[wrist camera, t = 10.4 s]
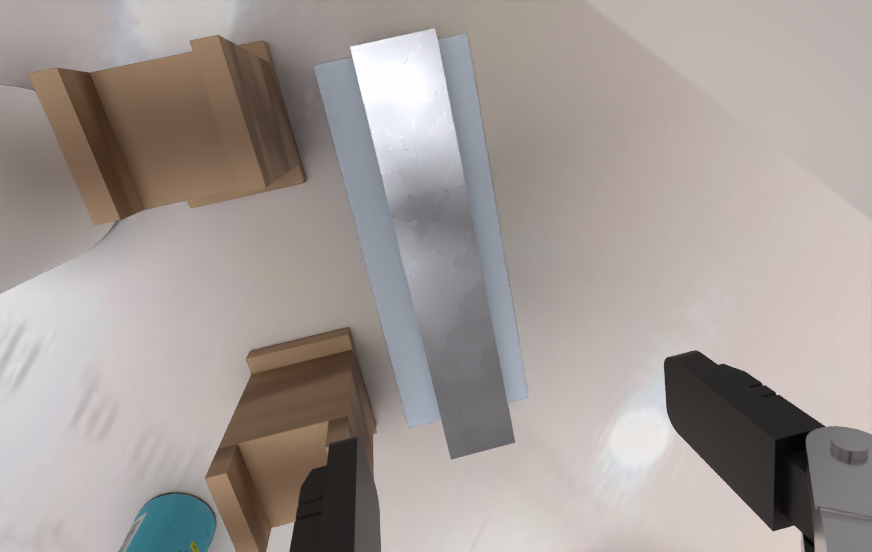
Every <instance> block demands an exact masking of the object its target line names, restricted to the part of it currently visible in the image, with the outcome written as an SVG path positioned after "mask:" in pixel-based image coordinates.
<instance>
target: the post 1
mask: <svg viewBox="0 0 872 552" xmlns="http://www.w3.org/2000/svg"><path fill="white" fill-rule="evenodd" d="M190 43H191V46H192V49H193V52H188V53H183V54H179V55H174V56H169V57H164V58H159V59H154V60H149V61H145V62H140V63H135V64H130V65H125V66H120V67H115V68H110V69H106V70H101V71H96V72H91V73H88V72H81V71H75V70H68V69H62V68H53V69H48V70H43V71H39V72H34V73H29V74H28V75H29V78H30V80H31V82H32V84H33V87H34V89H35V91H36V94H37V96H38V98H39V100H40V103H41V105H42V107H43V110H44V112H45V114H46V116H47V119H48V121H49V123H50V126H51V128H52V130H53V132H54V135H55V137H56V139H57V142H58V144H59V146H60V148H61V151H62V153H63V155H64V158H65V160H66V162H67V165H68V167H69V169H70V171H71V174H72V176H73V178H74V181H75V183H76V185H77V187H78V190H79V192H80V194H81V197H82V199H83V201H84V203H85V206H86V208H87V210H88V213H89V215H90V217H91V219H92V222H93V224H94V226H95V225H100V224H104V223H109V222H113V221H118V220H121V219H124V218H126V217H128V216H131V215H133V214H136V213H138V212H140V211H143V210H145V209H150V208H154V207H159V206H163V205H168V204H172V203H177V202H181V201H186V200H188V203H189V206H190V208H194V207H199V206H203V205H208V204H212V203H217V202H221V201H226V200H230V199H235V198H239V197H244V196H248V195H253V194H257V193H262V192H266V191H270V190H275V189H279V188H284V187H288V186H293V185H297V184H302V183H305V181H306V178H305V175H304V171H303V168H302V164H301V161H300V157H299V154H298V150H297V147H296V143H295V140H294V136H293V133H292V129H291V126H290V122H289V119H288V115H287V112H286V109H285V105H284V102H283V98H282V95H281V91H280V88H279V84H278V81H277V77H276V74H275V70H274V67H273V63H272V60H271V56H270V53H269V49H268V46H267V43H266V42H264V41H258V42H253V43H248V44H243V45H236V44H234V43H232V42H230V41H228V40H226V39H224V38H223V37H221V36H219V35H215V36H210V37H205V38H200V39H195V40H190Z"/></svg>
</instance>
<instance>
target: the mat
mask: <svg viewBox="0 0 872 552" xmlns="http://www.w3.org/2000/svg"><path fill="white" fill-rule="evenodd" d="M438 43H439V49H440V54H441V59H442V64H443V69H444V75H445V80H446V85H447V90H448V95H449V101H450V106H451V111H452V116H453V122H454V127H455V132H456V137H457V142H458V148H459V153H460V158H461V163H462V168H463V174H464V179H465V184H466V189H467V194H468V200H469V205H470V210H471V215H472V220H473V226H474V231H475V236H476V241H477V246H478V252H479V257H480V262H481V267H482V272H483V278H484V283H485V288H486V293H487V298H488V304H489V309H490V314H491V319H492V324H493V330H494V335H495V340H496V345H497V350H498V356H499V361H500V366H501V371H502V376H503V382H504V387H505V392H506V397H507V402H508V403H509V402H513V401H517V400H521V399H525V398H528V393H527V387H526V381H525V375H524V369H523V363H522V357H521V351H520V346H519V340H518V334H517V328H516V322H515V316H514V310H513V304H512V298H511V292H510V286H509V280H508V274H507V268H506V262H505V256H504V250H503V244H502V238H501V232H500V226H499V220H498V214H497V208H496V202H495V197H494V191H493V185H492V179H491V173H490V167H489V161H488V155H487V149H486V143H485V137H484V131H483V125H482V119H481V113H480V107H479V101H478V95H477V89H476V83H475V77H474V71H473V65H472V59H471V53H470V47H469V42H468V36H467V33H465V34H461V35H456V36H451V37H446V38H442V39H438ZM313 67H314V71H315V75H316V78H317V82H318V86H319V90H320V94H321V97H322V101H323V105H324V109H325V113H326V116H327V120H328V124H329V128H330V132H331V135H332V139H333V143H334V147H335V151H336V154H337V158H338V162H339V166H340V170H341V173H342V177H343V181H344V185H345V189H346V192H347V196H348V200H349V204H350V207H351V211H352V215H353V219H354V223H355V226H356V230H357V234H358V238H359V242H360V245H361V249H362V253H363V257H364V261H365V264H366V268H367V272H368V276H369V280H370V283H371V287H372V291H373V295H374V299H375V302H376V306H377V310H378V314H379V318H380V321H381V325H382V329H383V333H384V337H385V340H386V344H387V348H388V352H389V356H390V359H391V363H392V367H393V371H394V374H395V378H396V382H397V386H398V390H399V393H400V397H401V401H402V405H403V409H404V412H405V416H406V420H407V424H408V428H411V427H415V426H419V425H423V424H427V423H431V422H435V421H439V420H441V416H440V412H439V408H438V404H437V400H436V396H435V392H434V388H433V384H432V379H431V375H430V371H429V367H428V363H427V359H426V355H425V351H424V347H423V343H422V339H421V335H420V331H419V326H418V322H417V318H416V314H415V310H414V306H413V302H412V298H411V294H410V290H409V286H408V282H407V278H406V273H405V269H404V265H403V261H402V257H401V253H400V249H399V245H398V241H397V237H396V233H395V229H394V225H393V220H392V216H391V212H390V208H389V204H388V200H387V196H386V192H385V188H384V184H383V180H382V176H381V172H380V167H379V163H378V159H377V155H376V151H375V147H374V143H373V139H372V135H371V131H370V127H369V123H368V119H367V114H366V110H365V106H364V102H363V98H362V94H361V90H360V86H359V82H358V78H357V74H356V70H355V66H354V61H353V57H351V58H346V59H342V60H337V61H332V62H327V63H323V64H318V65H313Z"/></svg>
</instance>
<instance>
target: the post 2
mask: <svg viewBox="0 0 872 552" xmlns="http://www.w3.org/2000/svg"><path fill="white" fill-rule="evenodd" d="M246 360H247V363H248V366H249V368H250V371H251V376H250V379H249V381H248V383H247V385H246V388H245V390H244V392H243V394H242V396H241V399H240V401H239V403H238V405H237V408H236V410H235V412H234V414H233V417H232V419H231V421H230V423H229V425H228V428H227V430H226V432H225V434H224V437H223V439H222V441H221V443H220V446H219V448H218V450H217V452H216V454H215V457H214V459H213V461H212V463H211V466H210V468H209V470H208V472H207V475H206V477H205V480H206V483H207V485H208V487H209V490H210V492H211V494H212V496H213V499H214V501H215V503H216V506H217V508H218V510H219V512H220V515H221V517H222V519H223V522H224V524H225V526H226V528H227V531H228V533H229V535H230V538H231V540H232V542H233V544H234V547H235V549H236V551H237V552H266V549H267V545H268V540H269V536H270V532H271V528H272V527H276V526H280V525H284V524H288V523H292V522H295V521H296V512H297V507H298V500H299V495H300V489H301V485H302V484H303V482H304V481H305V479H306V478H307V476H308V475H309V473H310V472H311V470H312V469H315V468H319V467H322V466H326V465H327V458H328V449H329V444H330V443H332V442H336V441H340V440H344V439H347V438H351V437H355V436H360V438H361V440H362V443H363V447H364V450H365V453H366V456H367V460H368V463H369V466H370V470H371V473H372V476H373V479H374V474H373V434H375V433H376V422H375V418H374V415H373V411H372V408H371V404H370V401H369V397H368V394H367V390H366V387H365V383H364V380H363V376H362V373H361V369H360V366H359V362H358V359H357V356H356V352H355V349H354V345H353V342H352V338H351V335H350V331H349V328H345V329H341V330H337V331H332V332H328V333H324V334H320V335H316V336H312V337H308V338H303V339H299V340H295V341H291V342H287V343H283V344H279V345H274V346H270V347H266V348H262V349H258V350H254V351H250V352H249V354H248V356H247V358H246Z"/></svg>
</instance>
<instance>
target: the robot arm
mask: <svg viewBox="0 0 872 552" xmlns="http://www.w3.org/2000/svg"><path fill="white" fill-rule="evenodd" d="M664 374H665V390H666V406H667V413H668V416H669V419H670V421H671V424H672V425H673V427H674V429H675V430H676V432H677V433H678V434H679V435H680V436H681V437H682V438H683V439H684V440H685V441H686V442H687V443H688V444H689V445H690V446H691V447H692V448H693V449H694V450H695V451H696V452H697V453H698V454H699V456H700V457H701V458H702V459H703V460H704V461H705V462H706V463H707V464H708V465H709V466H710V467H711V468H712V469H713V470H714V471H715V472H716V473H717V474H718V475H719V476H720V477H721V478H722V479H723V480H724V481H725V482H726V483H727V484H728V485H729V486H730V487H731V488H732V489H733V491H734V492H735V493H736V494H737V495H738V496H739V497H740V498H741V499H742V500H743V501H744V502H745V503H746V504H747V505H748V506H749V507H750V508H751V509H752V510H753V511H754V512H755V513H756V514H757V515H758V516H759V517H760V518H761V519H762V520H763V521H764V522H765V523H766V524H767V526H768V527H769V528H770V529H771V530H772V531H776V530H779V529H783V528H786V527H790V526H794V525H795V526H796V527H797V528H798V529H799V530H800V531H801V532H802V533H801V549H802V552H872V435H871V434H869V433H866V432H863V431H860V430H857V429H853V428H847V427H838V426H829V427H825V426H824V425H822V424H821V423H819V422H818V421H816V420H815V419H814V418H812V417H811V416H809V415H808V414H806V413H805V412H803V411H802V410H800V409H799V408H797V407H796V406H795V405H793V404H792V403H790V402H789V401H787V400H786V399H784V398H783V397H781V396H780V395H776V392H774V391H773V390H771V389H770V388H768V387H767V386H763V385H762V383H761V382H760V381H758V380H757V379H755V378H754V377H752V376H751V375H749V374H748V373H746V372H745V371H742V370H739V369H736V368H733V367H731V366H728V365H725V364H720V365H717V364H716V363H715V362H713V361H712V360H710V359H709V358H708V357H706V356H705V355H703V354H702V353H701V352H699V351H696V350H694V351H690V352H687V353H683V354H679V355H675V356H671V357H667V358H666V359H665V362H664ZM290 552H381V538H380V510H379V501H378V495H377V490H376V486H375V483H374V479H373V476H372V473H371V470H370V466H369V463H368V460H367V456H366V453H365V450H364V447H363V443H362V440H361V438H360V436H355V437H351V438H347V439H344V440H340V441H336V442H332V443H330V444H329V449H328V458H327V465H326V466H322V467H319V468H315V469H312V470H311V472H310V473H309V475H308V476H307V478H306V479H305V481H304V482H303V484H302V485H301V489H300V495H299V500H298V507H297V512H296V522H295V523H294V529H293V535H292V541H291V546H290Z"/></svg>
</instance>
